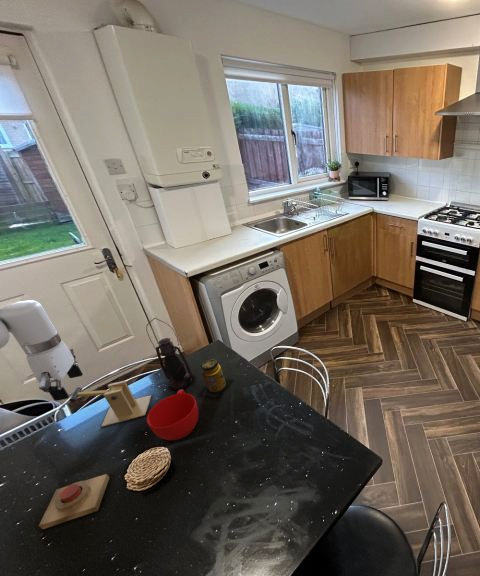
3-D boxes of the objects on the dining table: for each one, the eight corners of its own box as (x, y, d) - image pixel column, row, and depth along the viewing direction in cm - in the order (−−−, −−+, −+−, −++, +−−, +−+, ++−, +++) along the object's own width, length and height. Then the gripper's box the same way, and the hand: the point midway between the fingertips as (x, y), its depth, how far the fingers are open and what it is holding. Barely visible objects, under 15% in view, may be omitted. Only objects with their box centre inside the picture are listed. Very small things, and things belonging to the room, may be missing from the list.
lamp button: (60, 505, 78) (56, 501, 77) (66, 490, 80) (63, 487, 80) (78, 499, 79) (74, 495, 78) (83, 485, 82) (80, 481, 81)
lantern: (172, 395, 113) (141, 328, 98) (167, 382, 118) (138, 317, 103) (196, 384, 117) (170, 319, 103) (191, 372, 123) (165, 309, 108)
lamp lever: (69, 403, 95) (68, 397, 94) (76, 392, 99) (75, 386, 98) (120, 399, 100) (119, 393, 99) (124, 388, 104) (124, 383, 103)
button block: (43, 530, 76) (34, 522, 74) (60, 494, 83) (52, 485, 81) (98, 511, 80) (91, 503, 78) (110, 478, 87) (104, 469, 85)
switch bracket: (102, 428, 100) (85, 403, 95) (111, 407, 108) (96, 383, 102) (146, 416, 104) (132, 392, 99) (152, 397, 112) (139, 373, 106)
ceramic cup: (209, 401, 110) (201, 380, 106) (200, 442, 96) (191, 421, 92) (167, 410, 107) (157, 389, 102) (152, 454, 93) (140, 433, 88)
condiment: (231, 382, 118) (223, 358, 112) (217, 399, 111) (208, 375, 105) (214, 379, 119) (206, 355, 114) (199, 396, 112) (189, 372, 106)
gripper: (40, 328, 92) (67, 371, 101) (4, 365, 78) (38, 412, 86) (72, 323, 95) (95, 366, 103) (43, 358, 81) (73, 404, 89)
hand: (69, 387), depth 95 cm, fingers open, 9 cm apart
